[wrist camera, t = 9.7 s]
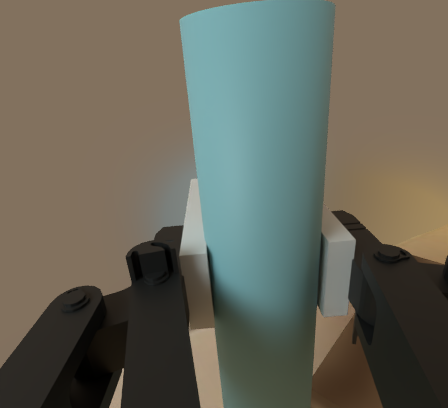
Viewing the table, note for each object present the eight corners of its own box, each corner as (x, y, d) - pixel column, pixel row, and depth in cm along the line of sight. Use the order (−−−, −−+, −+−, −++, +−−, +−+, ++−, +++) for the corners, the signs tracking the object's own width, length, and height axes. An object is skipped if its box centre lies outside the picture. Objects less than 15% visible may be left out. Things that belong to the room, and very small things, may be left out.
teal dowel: (322, 431, 13) (361, 8, 7) (278, 510, 11) (277, -10, 5) (258, 384, 16) (243, 30, 9) (211, 442, 13) (148, 24, 7)
